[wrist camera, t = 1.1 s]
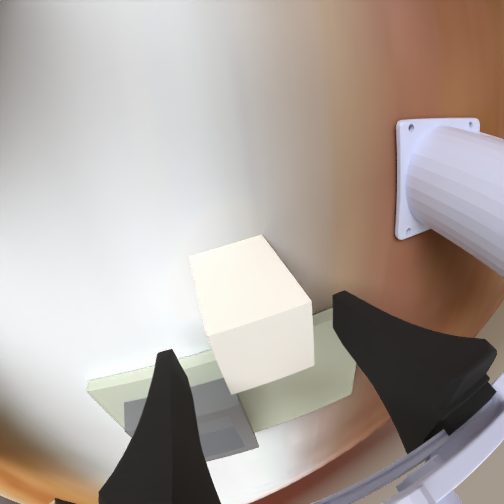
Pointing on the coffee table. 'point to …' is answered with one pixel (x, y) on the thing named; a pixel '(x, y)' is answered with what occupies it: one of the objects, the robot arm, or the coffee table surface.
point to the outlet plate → (238, 394)
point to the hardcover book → (60, 502)
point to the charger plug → (253, 313)
